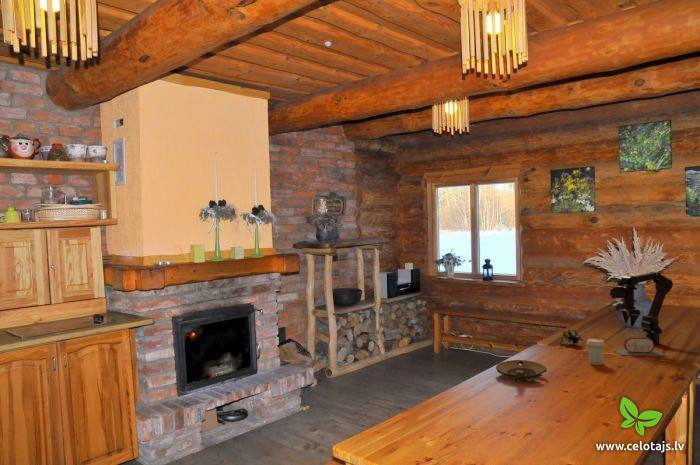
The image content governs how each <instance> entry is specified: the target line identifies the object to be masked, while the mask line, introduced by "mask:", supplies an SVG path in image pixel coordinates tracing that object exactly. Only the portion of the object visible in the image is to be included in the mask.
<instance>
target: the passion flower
mask: <svg viewBox="0 0 700 465" xmlns="http://www.w3.org/2000/svg"><path fill="white" fill-rule="evenodd" d="M566 341H567V345H566V347H568V346H569V345H570V343H572V344H573V345H579V341H581V342H583V341H584V339H582V338H581V336H580V335H579V333H578V331H577V329H576V330H575V329H570V328H568V329H567V330H562V335H561V336H558V338H557V342H558V343H561V344H562V343H564V344H566Z"/></svg>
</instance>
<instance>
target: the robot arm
mask: <svg viewBox="0 0 700 465" xmlns="http://www.w3.org/2000/svg"><path fill="white" fill-rule="evenodd" d="M649 281H652V282H653V283H654V284H655V286H654V287H655V291H656V292H655V294H654V298H653V300H652V303H651V306H650V308H649V311H648V313H647V315H643V316H642V319H641V321H640V323H641V324H640V326H641V328H642V331H643V332H645V334H644V337H648V338H650V339H651V340H652V341H653V342H654V345H661V344H662V343H661V342H660V335H662V332H663V329H662V328H661V326H659V323H660V322H659V315H660V311H661V309H662V305H663V304H664V301H665V298H666V295H667V294H669V292H671V290H672V288H673V287H674V282H673V281H672V280H671V278H670V279H669V278H668V277H665V276H664V275H662V274H661V273H659V272H657V271H651V272H646V273H643V274H637V275H622V276H621V279H620V281H619V282H618V284H617V285H616V286H612V288H611V290H610V291H609V295H610V297H611V298H612V299H621V301H619V302H615V303H613V304H612V308H613V310H614V311H618V312H619V313H621V316H622V318H623V321H624V323H625V324H628V321H629V323H630V326H631V327H634V325H635V323H636V321H637V319H638V318H639V317H640V315H642V314H641V310H640V309H639V308H636V306H635V302H636V299H635V291H636V290H638V288H637V287H636V286H637V285H639V284H640V283H644V282H649Z"/></svg>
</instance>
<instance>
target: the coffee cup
mask: <svg viewBox="0 0 700 465" xmlns="http://www.w3.org/2000/svg"><path fill="white" fill-rule="evenodd" d="M586 345H587V346H586V347H587V353H588V354H587V356H588V361H589V365H592V366H593V365H594V366H602V365H603V360H604V352H605V351H604V350H605V345H606V344H605V341H604V339H599V338H588V339H587V341H586Z"/></svg>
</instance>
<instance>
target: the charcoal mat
mask: <svg viewBox="0 0 700 465" xmlns="http://www.w3.org/2000/svg"><path fill="white" fill-rule="evenodd" d="M612 351H613V352H614V353H616V352H617V354H618V355H620V356H621V357H625V356H626V357H666V355H665V354H664V353H662V352H660V351H658V350H656V349H653V350H652V351H651V352H649V353H635V352H629V351H628V350H626V349H625V348H622V349H620V348H619V349H618V348H617V349H616V348H614V349H612Z"/></svg>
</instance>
